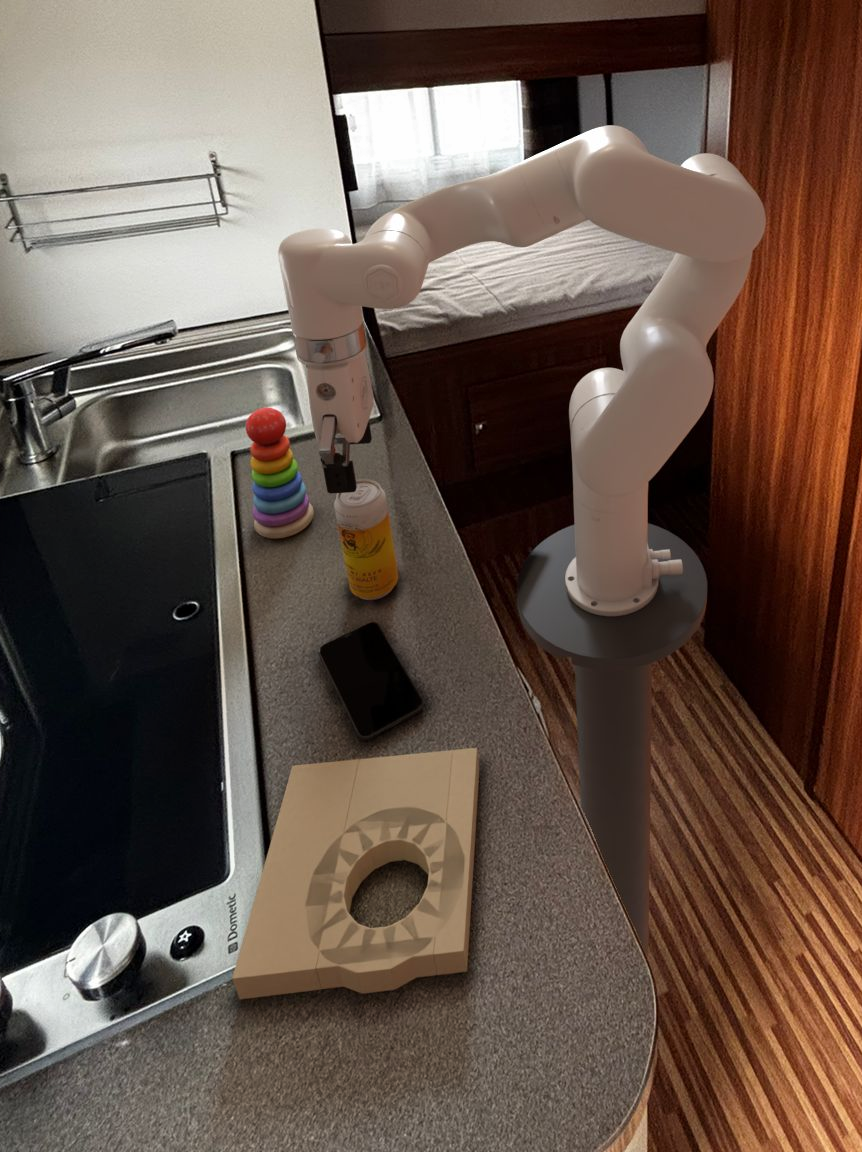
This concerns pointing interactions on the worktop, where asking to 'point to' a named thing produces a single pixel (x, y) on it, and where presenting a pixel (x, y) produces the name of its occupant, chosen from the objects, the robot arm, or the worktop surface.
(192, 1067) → the worktop surface
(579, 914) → the worktop surface
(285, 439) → the stacking toy
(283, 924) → the pad base
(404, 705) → the smartphone
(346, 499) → the beer can
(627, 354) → the robot arm
